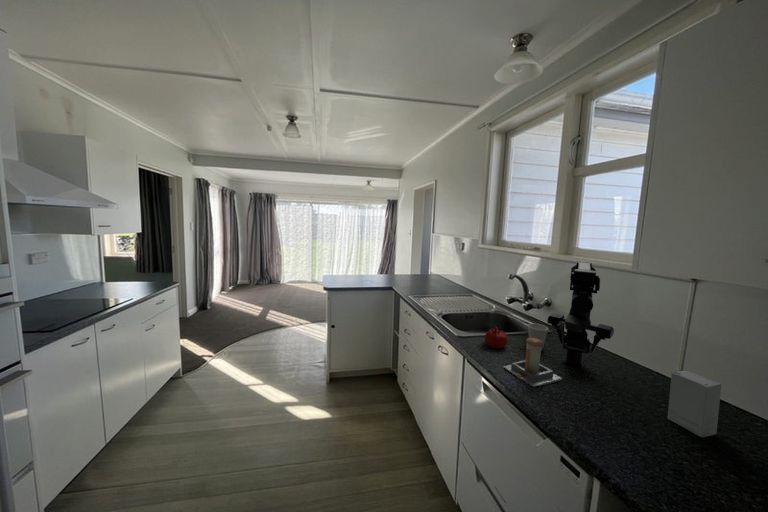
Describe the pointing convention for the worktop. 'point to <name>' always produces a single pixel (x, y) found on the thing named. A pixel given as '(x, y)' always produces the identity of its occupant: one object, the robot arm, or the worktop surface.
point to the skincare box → (694, 403)
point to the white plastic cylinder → (533, 355)
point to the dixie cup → (538, 332)
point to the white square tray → (537, 379)
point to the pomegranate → (496, 338)
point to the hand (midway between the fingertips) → (576, 348)
